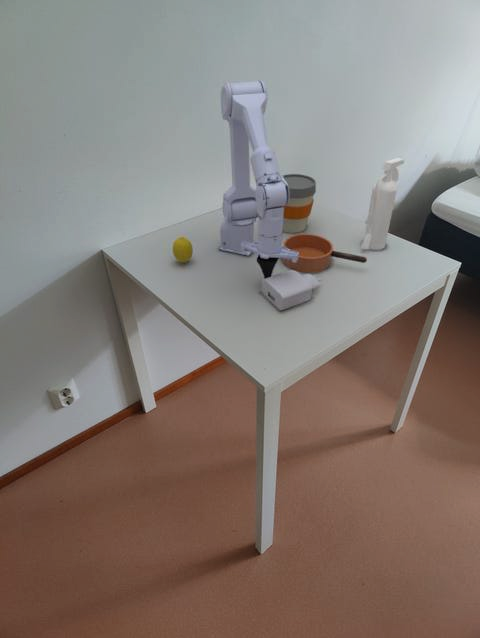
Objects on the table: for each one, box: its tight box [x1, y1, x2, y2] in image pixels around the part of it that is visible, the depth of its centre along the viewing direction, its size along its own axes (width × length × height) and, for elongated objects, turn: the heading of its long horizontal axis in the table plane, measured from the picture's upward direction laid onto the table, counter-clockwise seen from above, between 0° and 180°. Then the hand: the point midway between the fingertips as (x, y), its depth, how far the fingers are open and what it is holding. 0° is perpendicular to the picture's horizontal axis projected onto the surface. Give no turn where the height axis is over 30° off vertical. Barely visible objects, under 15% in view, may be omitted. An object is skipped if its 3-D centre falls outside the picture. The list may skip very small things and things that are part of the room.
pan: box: [282, 233, 334, 273], centre depth 115 cm, size 14×14×4 cm
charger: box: [261, 269, 323, 311], centre depth 102 cm, size 5×9×15 cm
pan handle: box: [328, 250, 368, 264], centre depth 111 cm, size 11×2×2 cm, turn 67°
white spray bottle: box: [360, 157, 405, 251], centre depth 115 cm, size 7×12×25 cm, turn 131°
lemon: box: [172, 236, 194, 263], centre depth 113 cm, size 6×6×8 cm
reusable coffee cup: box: [282, 173, 317, 234], centre depth 128 cm, size 13×13×15 cm
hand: (267, 279), depth 105 cm, fingers closed
